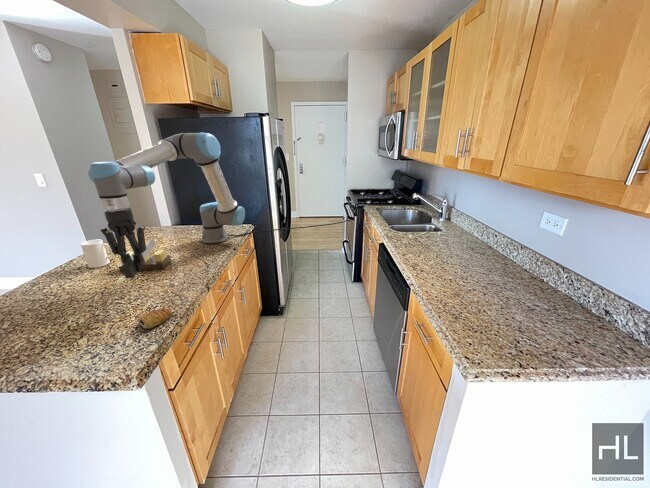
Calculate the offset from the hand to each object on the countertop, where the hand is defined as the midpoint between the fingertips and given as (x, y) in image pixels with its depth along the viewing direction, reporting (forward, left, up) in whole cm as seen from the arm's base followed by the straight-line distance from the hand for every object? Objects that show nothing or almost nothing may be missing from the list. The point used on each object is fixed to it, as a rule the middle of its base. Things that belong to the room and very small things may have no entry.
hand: (135, 270), depth 97 cm
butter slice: (+5, -31, -9) cm, 33 cm away
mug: (+35, -37, -13) cm, 53 cm away
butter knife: (0, -7, +1) cm, 7 cm away
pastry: (-11, +16, -13) cm, 23 cm away
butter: (+16, -31, -9) cm, 36 cm away
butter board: (+12, -31, -12) cm, 35 cm away
